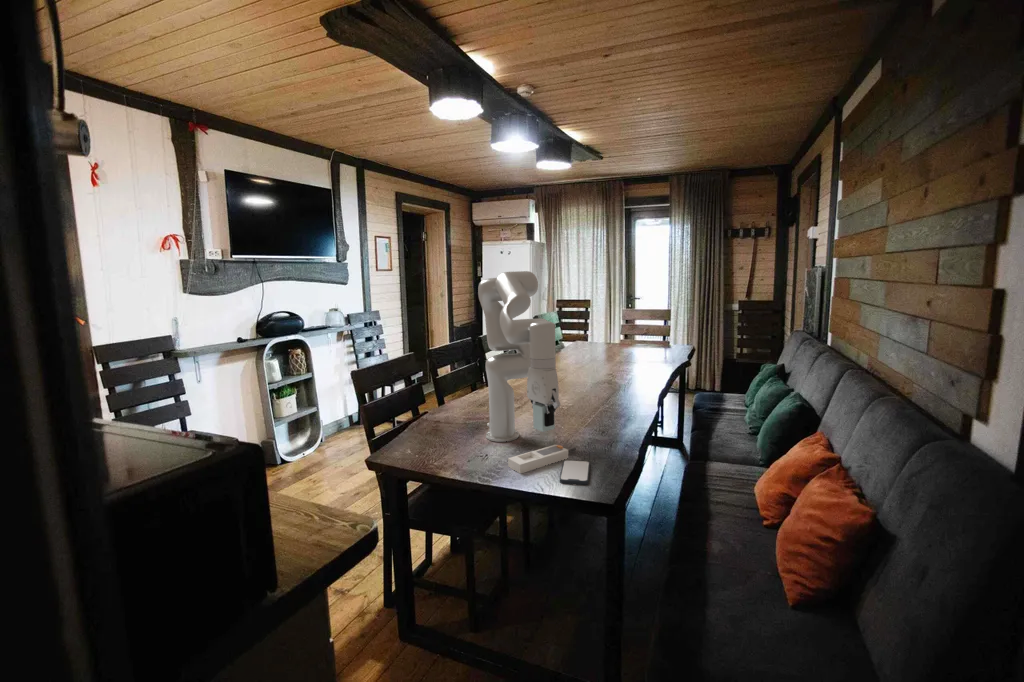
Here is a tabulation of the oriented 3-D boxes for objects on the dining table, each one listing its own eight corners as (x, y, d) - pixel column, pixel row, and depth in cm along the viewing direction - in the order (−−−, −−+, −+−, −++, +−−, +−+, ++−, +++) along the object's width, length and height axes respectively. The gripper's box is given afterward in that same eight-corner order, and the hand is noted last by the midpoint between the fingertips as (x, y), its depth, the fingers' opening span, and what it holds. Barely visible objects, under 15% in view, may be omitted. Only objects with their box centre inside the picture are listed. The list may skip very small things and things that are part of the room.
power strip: (508, 466, 162) (508, 456, 162) (569, 448, 177) (569, 438, 176) (519, 473, 157) (519, 462, 156) (581, 454, 171) (581, 444, 171)
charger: (533, 428, 150) (532, 403, 149) (545, 425, 152) (544, 401, 151) (542, 431, 146) (542, 406, 145) (554, 428, 149) (554, 404, 148)
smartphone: (563, 464, 165) (558, 484, 150) (563, 459, 165) (558, 479, 149) (590, 465, 163) (588, 486, 148) (590, 461, 163) (588, 481, 148)
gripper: (515, 361, 151) (517, 419, 154) (550, 369, 137) (551, 433, 140) (535, 358, 155) (536, 414, 158) (571, 365, 142) (572, 427, 144)
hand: (543, 422), depth 149 cm, fingers closed on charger, 4 cm apart
